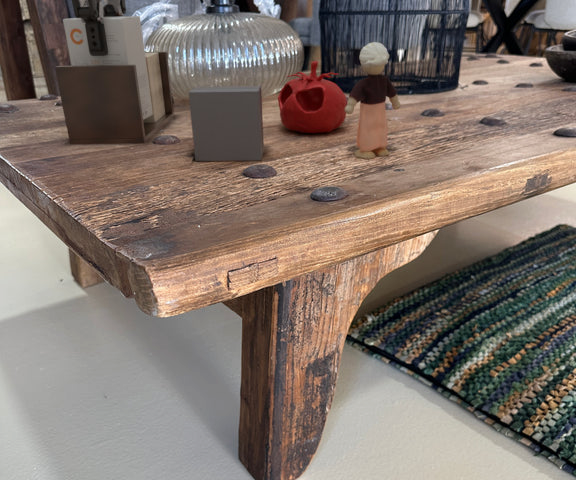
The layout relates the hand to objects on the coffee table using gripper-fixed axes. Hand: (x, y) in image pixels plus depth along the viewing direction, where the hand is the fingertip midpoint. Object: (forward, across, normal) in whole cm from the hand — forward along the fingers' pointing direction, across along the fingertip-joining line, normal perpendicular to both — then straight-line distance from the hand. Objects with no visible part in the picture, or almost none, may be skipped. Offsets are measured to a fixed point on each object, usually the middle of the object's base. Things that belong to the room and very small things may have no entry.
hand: (108, 52), depth 76 cm
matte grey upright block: (+11, +12, +17) cm, 23 cm away
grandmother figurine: (+11, +11, +34) cm, 38 cm away
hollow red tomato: (+11, -4, +27) cm, 30 cm away
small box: (+9, 0, 0) cm, 9 cm away
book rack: (+11, -2, 0) cm, 11 cm away
